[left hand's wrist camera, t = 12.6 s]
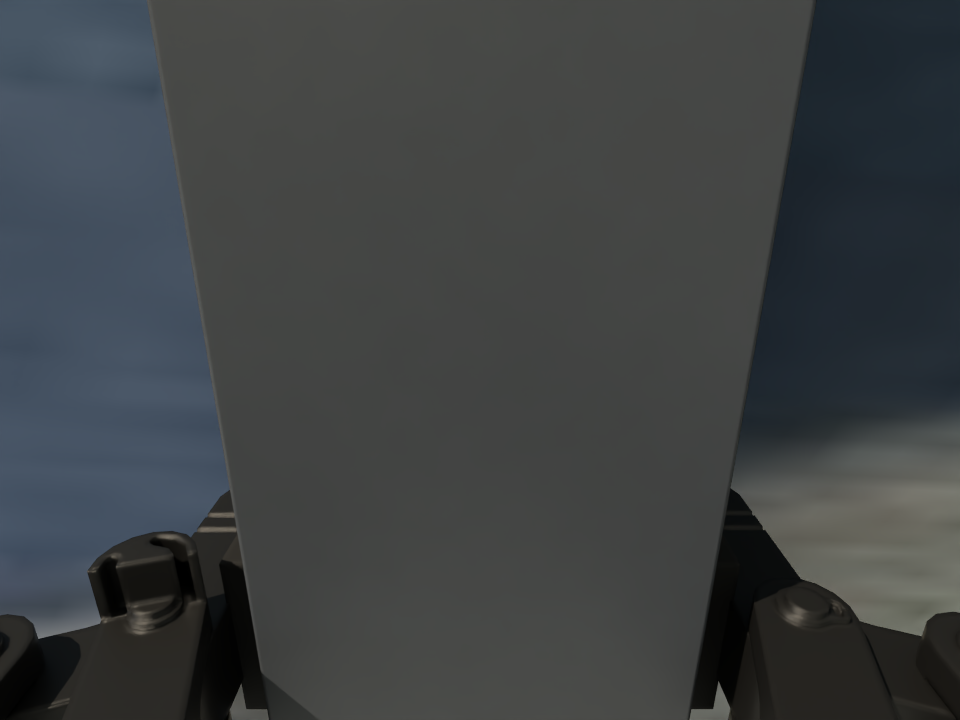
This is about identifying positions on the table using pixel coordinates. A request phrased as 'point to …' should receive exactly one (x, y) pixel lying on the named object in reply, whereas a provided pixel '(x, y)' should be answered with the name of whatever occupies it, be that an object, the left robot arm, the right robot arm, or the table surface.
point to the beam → (480, 332)
